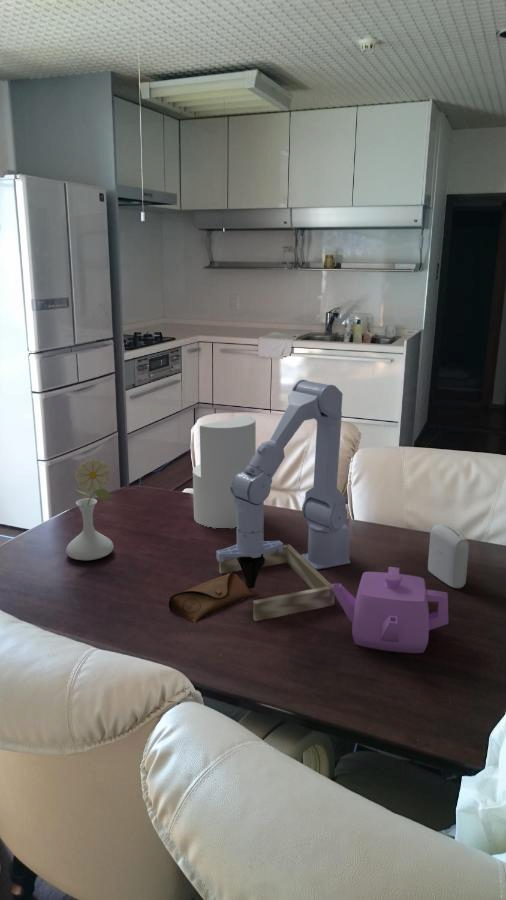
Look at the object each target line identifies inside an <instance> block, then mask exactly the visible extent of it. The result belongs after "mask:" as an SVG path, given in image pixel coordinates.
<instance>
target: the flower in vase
mask: <svg viewBox="0 0 506 900" xmlns="http://www.w3.org/2000/svg"><path fill="white" fill-rule="evenodd" d="M108 465H109V464H107V463H106V462H105V461H102V460H100V459H97V458H92V459H87V460H86V461H84V462H81V463H80V464H79V467H77V469H76V472H75V473H74V474H75V476H74V478H75V480H76V483H77V484H78V485H77V486H78V488H80V489H81V490H83V491H81V490H79V489H77V488H76V487H74V489H75V491H76V492H78V493H79V494H82V495H84V496H87V497H86V498H82V499H81V498H80V499H78V500H76V501H75V505H76V506H77V507H78V509H79V510H80V512H81V516H82V522H83V524H82V526H83V528H82V531H81V532H80V533H79V534H78V535H76V537H74V538H73V539H72V540H71V541H70V542H69V543H68V544H67V546H66V549H65V552H66V555H68V557H70V558H71V559H73V560H79V561H92V560H93V561H94V560H98V559H102V558H104V557H106V556H108V555H110V553H112V551H113V549H114V548H115V547H114V546H115V545H114V543H113V541H112V540H111V539H110V538H109V537H108V536H105V535H103V534H102V533H100V532H98V531H97V530H96V529H95V527H94V522H93V521H94V517H93V516H94V515H93V514H94V509H95V507H96V505H97V503H98V500H97V499H95V498H93V496H94V495H96V496H97V498H98V499H99V500H105V499H106V500H107V499H111V498H112V494H110V492H109V491H108V490H107V489H106V488H105V487H106V486H107V484H108V483H107V482H108V481H109V480H110V478H111V475H112V474H111V472H110V468H109V467H108ZM84 491H87V492H90V493H92V494H91V496H90V495H89V494H88V493H86V492H84ZM88 497H89V498H88Z"/></svg>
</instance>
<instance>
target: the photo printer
mask: <svg viewBox="0 0 506 900" xmlns="http://www.w3.org/2000/svg"><path fill="white" fill-rule="evenodd" d="M429 536H430V537H429V546H428V547H429V549H428V558H427V559H428V561H427V570H428V572H429V573H431V575H433V576H435V577H436V578H438V580H440V581H441V582H443V583H444V584H446V585H447V586H449V587H451V588H453V589H461V588H463V587H464V586H465V585H466V583H467V582H466V581H467V571H468V563H469V562H468V561H469V551H470V550H469V548H470V543H469V541H468V539H467V538H466V537H465V535H464V534H462V532H460V531H459V530H457V528H455V527H452V526H451V525H449V524H444V523H439V524H435V525H433V526H432V528H431V530H430V535H429Z"/></svg>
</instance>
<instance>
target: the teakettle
mask: <svg viewBox="0 0 506 900" xmlns="http://www.w3.org/2000/svg"><path fill="white" fill-rule="evenodd" d="M400 568H401V567H396V566H395V567H394V566H388V571H387V572H383V571H381V572H380V571H364V572H363V573H362V575H361V579H360V581H359V586H358V587H357V588H358V589H357V593H356V597H354V596H353V595H352V594H351V593H350V592H349V591H348V590H347V588H346V587H344V585H343V584H342V583H331V585H332V590H333V592H334V594H335V597H336V599H337V601H338V602H339V604H340V606H341V608H342V610H343V612H344V613H345V615H346V617H347V619H348V620H349V621H350V622H351V623H352V624H351V625H352V626H351V628H352V629H351V630H352V631H351V632H352V633H351V634H352V638H353V642H354V644H355V645H357V646H359V647H364V648H368V649H369V648H370V649H374V650H381V651H385V652H393V653H394V652H395V653H405V654H406V653H408V654H422V653H424V652H425V650H426V649H427V646H428V643H429V635H430V634H429V633H430V630H435V629H437V628H439V627H442V626H447V625H448V624H449V604H448V603H449V597H448V596H449V595H448V594H449V593H448V592H445V591H440V590H432V589H427V588H426V586H427V585H426V581H425V578H423V577H421V576H416V575H411V574H403V573H400ZM429 602H433V603H437V604H438V605H437V611H434V612H432V613H430V612H429V611H430V609H429Z"/></svg>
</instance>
